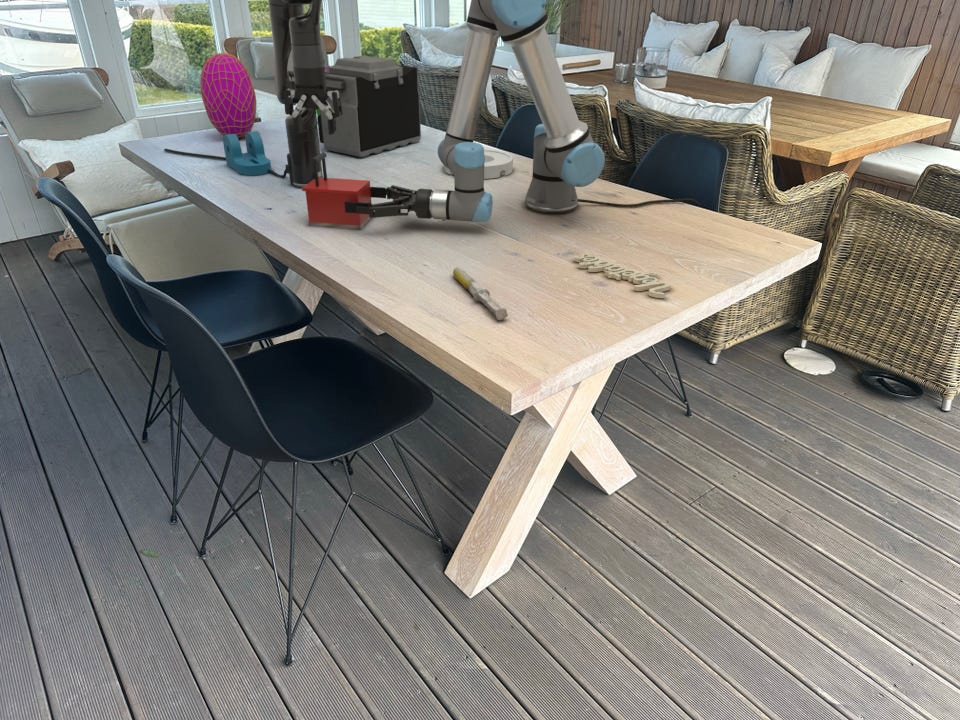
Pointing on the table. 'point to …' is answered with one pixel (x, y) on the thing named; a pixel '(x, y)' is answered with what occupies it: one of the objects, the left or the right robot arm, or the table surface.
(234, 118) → the decorative egg
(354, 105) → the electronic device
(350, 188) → the lid
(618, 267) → the decorative sign
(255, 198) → the table surface
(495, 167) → the ashtray
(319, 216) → the chest
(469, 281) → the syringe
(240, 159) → the camera mount
